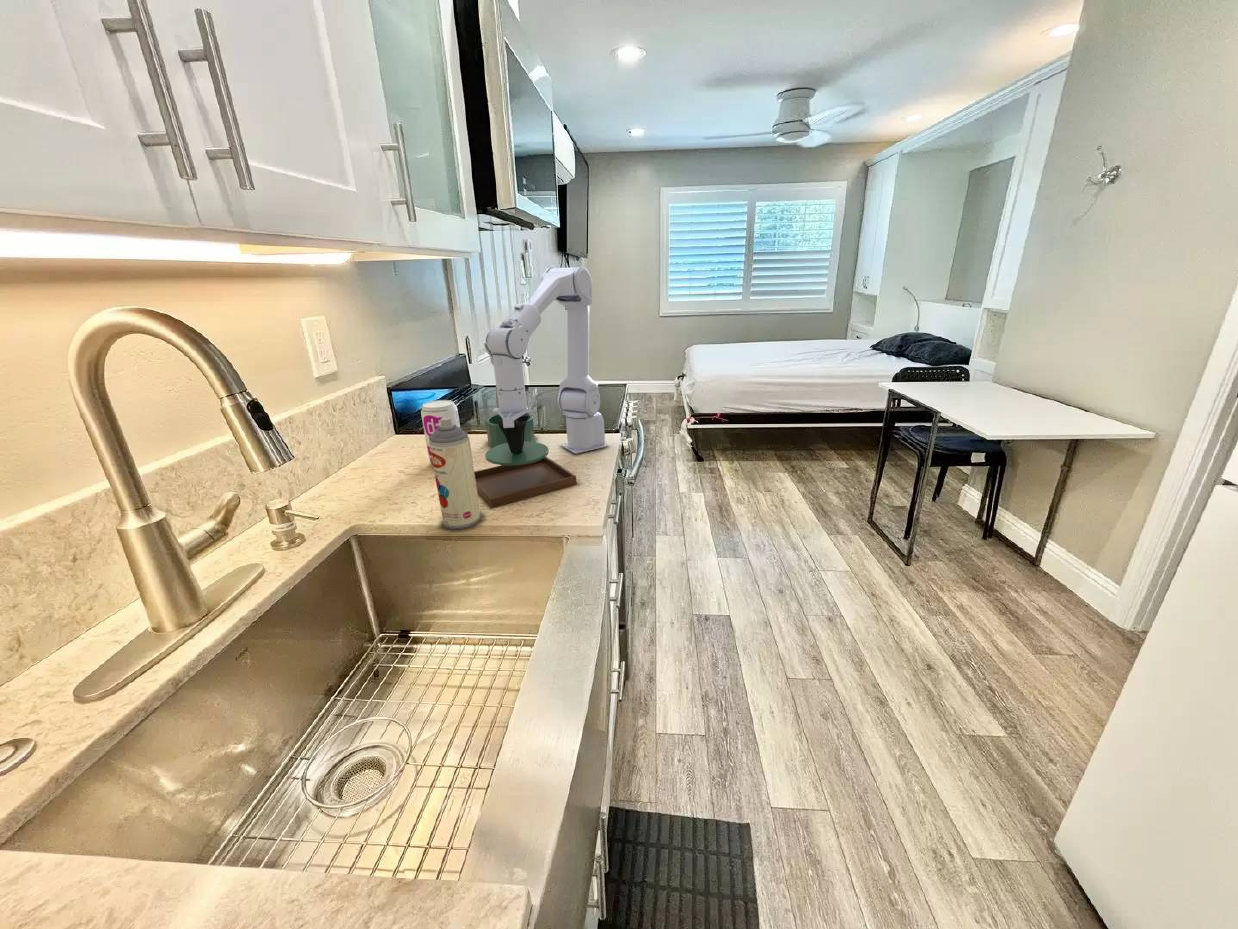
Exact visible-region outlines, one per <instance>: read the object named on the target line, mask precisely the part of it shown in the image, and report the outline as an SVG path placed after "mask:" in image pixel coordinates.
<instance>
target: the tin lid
mask: <svg viewBox="0 0 1238 929" xmlns="http://www.w3.org/2000/svg"><path fill="white" fill-rule="evenodd" d="M548 455H549V447H548V446H547V445H546V444H544V443H541V442H538V441H534V442H530V441H524V446H523V448H522V451H521V453H511V451H510V448H509V445H508V443H505V444H501V445H498V446H495V447H491V448H489V449H488V450H487V451H486V452H485V456H484V457H485V460H486V461H487V462H488V463H490V464H493V465H496V466H500V465H507V466H512V465H523V464H528V463H532V462H536V461H538V460H541V459H543V458H544V457H548Z"/></svg>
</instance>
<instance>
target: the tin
mask: <svg viewBox="0 0 1238 929" xmlns="http://www.w3.org/2000/svg"><path fill="white" fill-rule="evenodd" d="M528 414H529V417H528V420H527V423H526V428H525V437H524V441H530V442H535V440H536V439H535V437H536V436H535V427H534V417H533V415H532V414H530V413H528ZM499 421H503V420H502V418H501V416H500V415H499V414H493V415H490V416H489V417H487V418H486V419H485V428H486V435H487V442H488V446H490V447H491V448H493V447H495V446H498V445H501V444H505V443H508V442H507V440H506V437H505V435H504V433H503V432H502V430H501V429H500V428H499V426H498V423H499Z"/></svg>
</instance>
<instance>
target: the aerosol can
mask: <svg viewBox="0 0 1238 929" xmlns="http://www.w3.org/2000/svg"><path fill="white" fill-rule="evenodd" d="M429 440H430V441H429V447H430V452H431V458H432V463H433V465H432V468H433V474H434V480H435V485H436V490H437V496H438V502H439V507H440V512H441V518H442V521H443V522H442V524H443V526H444V527H445V528H447V529H449V530H465V529H469V528H471V527H474V526H476V525H477V524H479V522H480V521H481V519H482V515H481V507H480V501H479V493H478V492H477V487H476V480H475V473H474V471H475V467H474V461H473V454H472V448H471V439H470V437H469V433H468V431H466V430H463V429H462V428H461V426H460V427H457V426H456V425H455V424H454V423H452V421H451V418H449V417H446V418H442V419H441V425H440V426H439V427H438V429H436V430H435V431H434V433H433V434H432V435H431V436H430V437H429Z"/></svg>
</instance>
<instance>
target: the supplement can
mask: <svg viewBox="0 0 1238 929" xmlns="http://www.w3.org/2000/svg"><path fill="white" fill-rule="evenodd" d="M458 411H459V410H458V406H457V405H456V403H454V401H453V400H451V399H450V400H449V399H439V400H438V399H437V400H432V401H428V402H425V403H423V404H422V408H421V410H420V415H421V421H422V427H423V431H424V432H423V433H424V437H425V443H426V449H427V453H428V460H429V464H430V465H431V466H433V463H432V458H431V452H430V447H429V441H430V440H429V437H430V436H431V435H432V434H433V433H434V431H435V430H436V429H438V427H439V426H440V425H441V419H442V418H446V417H449V418H451V421H452V423H454V424H455V425H456V426H457V427H460V428H461V424H460V417H459V412H458Z"/></svg>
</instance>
